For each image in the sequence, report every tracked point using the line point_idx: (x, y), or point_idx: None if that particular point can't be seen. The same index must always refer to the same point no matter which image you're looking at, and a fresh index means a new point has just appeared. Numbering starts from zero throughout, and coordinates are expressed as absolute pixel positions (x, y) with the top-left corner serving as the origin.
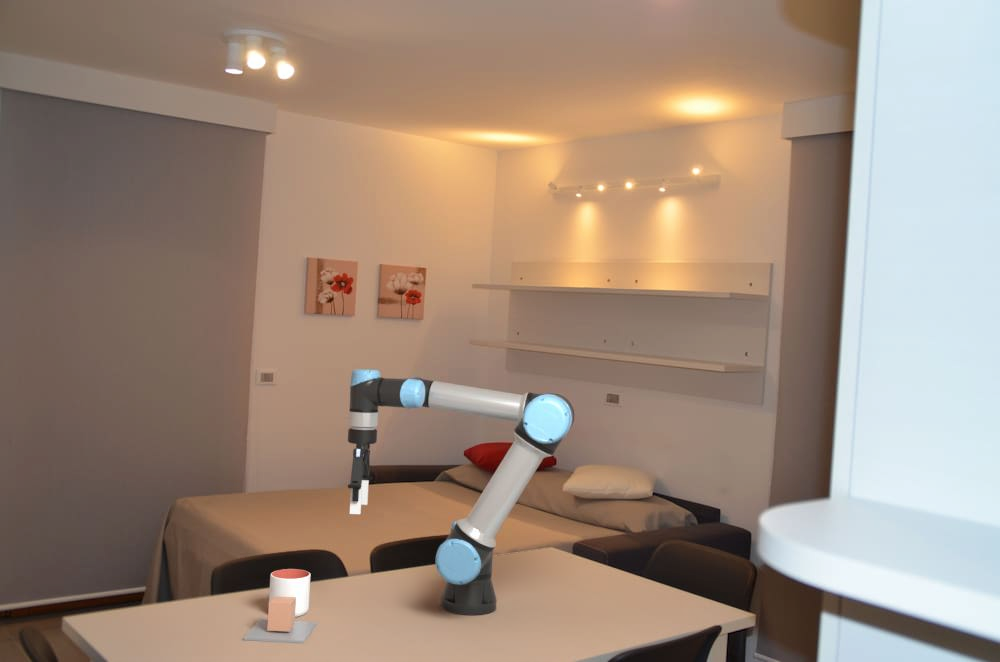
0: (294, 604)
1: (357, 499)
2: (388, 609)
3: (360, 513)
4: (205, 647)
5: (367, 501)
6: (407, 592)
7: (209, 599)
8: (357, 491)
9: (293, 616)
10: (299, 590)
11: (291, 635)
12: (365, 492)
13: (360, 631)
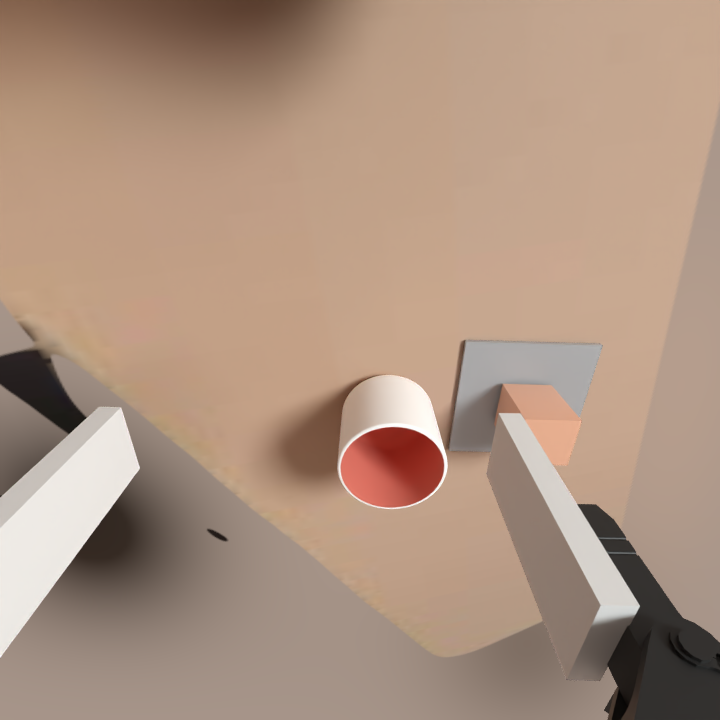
0: (533, 411)
1: (614, 524)
2: (315, 163)
3: (510, 415)
4: (598, 494)
5: (102, 422)
6: (110, 112)
7: (320, 545)
8: (663, 604)
9: (526, 396)
10: (432, 421)
11: (561, 376)
12: (59, 493)
13: (522, 225)
